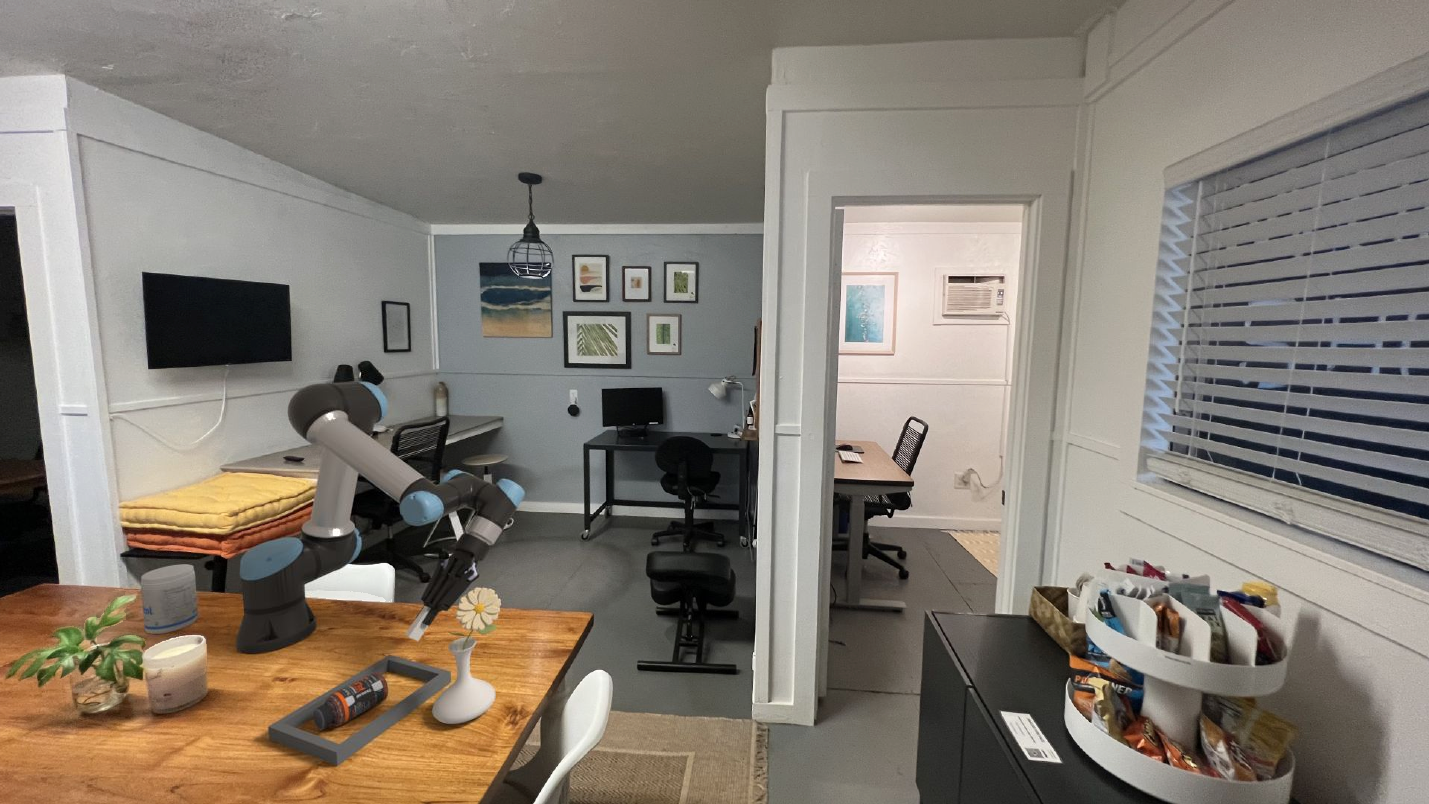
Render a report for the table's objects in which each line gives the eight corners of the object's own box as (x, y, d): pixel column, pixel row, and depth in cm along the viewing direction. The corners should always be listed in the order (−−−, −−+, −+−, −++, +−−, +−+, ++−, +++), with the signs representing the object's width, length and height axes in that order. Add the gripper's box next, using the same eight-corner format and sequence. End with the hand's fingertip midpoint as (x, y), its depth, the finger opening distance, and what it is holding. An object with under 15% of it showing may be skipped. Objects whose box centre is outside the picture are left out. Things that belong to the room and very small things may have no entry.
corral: (269, 739, 94) (268, 726, 94) (390, 665, 117) (389, 654, 116) (337, 766, 88) (336, 752, 88) (451, 682, 111) (450, 671, 111)
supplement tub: (136, 631, 130) (131, 575, 128) (185, 613, 139) (180, 561, 137) (158, 639, 127) (152, 581, 125) (207, 620, 135) (202, 566, 134)
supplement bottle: (386, 671, 104) (323, 705, 94) (392, 701, 104) (329, 737, 94) (370, 670, 106) (307, 702, 96) (375, 698, 106) (313, 733, 96)
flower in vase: (425, 735, 95) (419, 607, 93) (440, 696, 106) (435, 580, 104) (500, 722, 99) (496, 598, 97) (507, 685, 110) (504, 573, 107)
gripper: (505, 551, 123) (441, 652, 110) (471, 541, 129) (407, 635, 117) (484, 537, 118) (415, 641, 105) (450, 527, 124) (381, 624, 112)
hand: (411, 638), depth 111 cm, fingers closed
